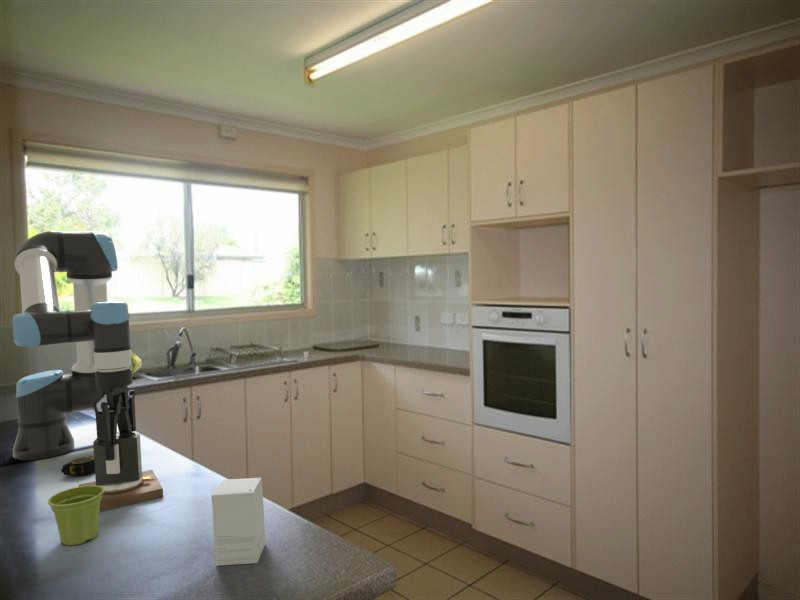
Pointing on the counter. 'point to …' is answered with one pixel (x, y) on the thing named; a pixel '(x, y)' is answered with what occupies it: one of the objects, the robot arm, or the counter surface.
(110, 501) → the dial base plate
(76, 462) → the tape measure
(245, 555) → the supplement box
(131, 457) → the dial knob
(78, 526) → the plant pot
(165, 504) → the counter surface
